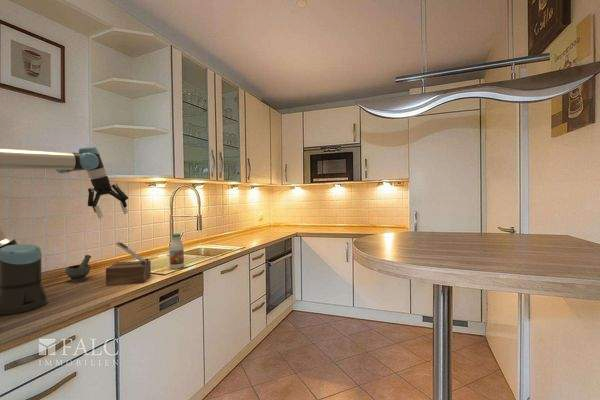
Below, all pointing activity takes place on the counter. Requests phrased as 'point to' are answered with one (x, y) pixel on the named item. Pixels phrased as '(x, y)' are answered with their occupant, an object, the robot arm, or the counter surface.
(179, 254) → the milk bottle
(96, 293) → the counter surface
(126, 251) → the clasp bar
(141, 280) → the crate
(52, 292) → the counter surface
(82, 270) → the mortar and pestle
